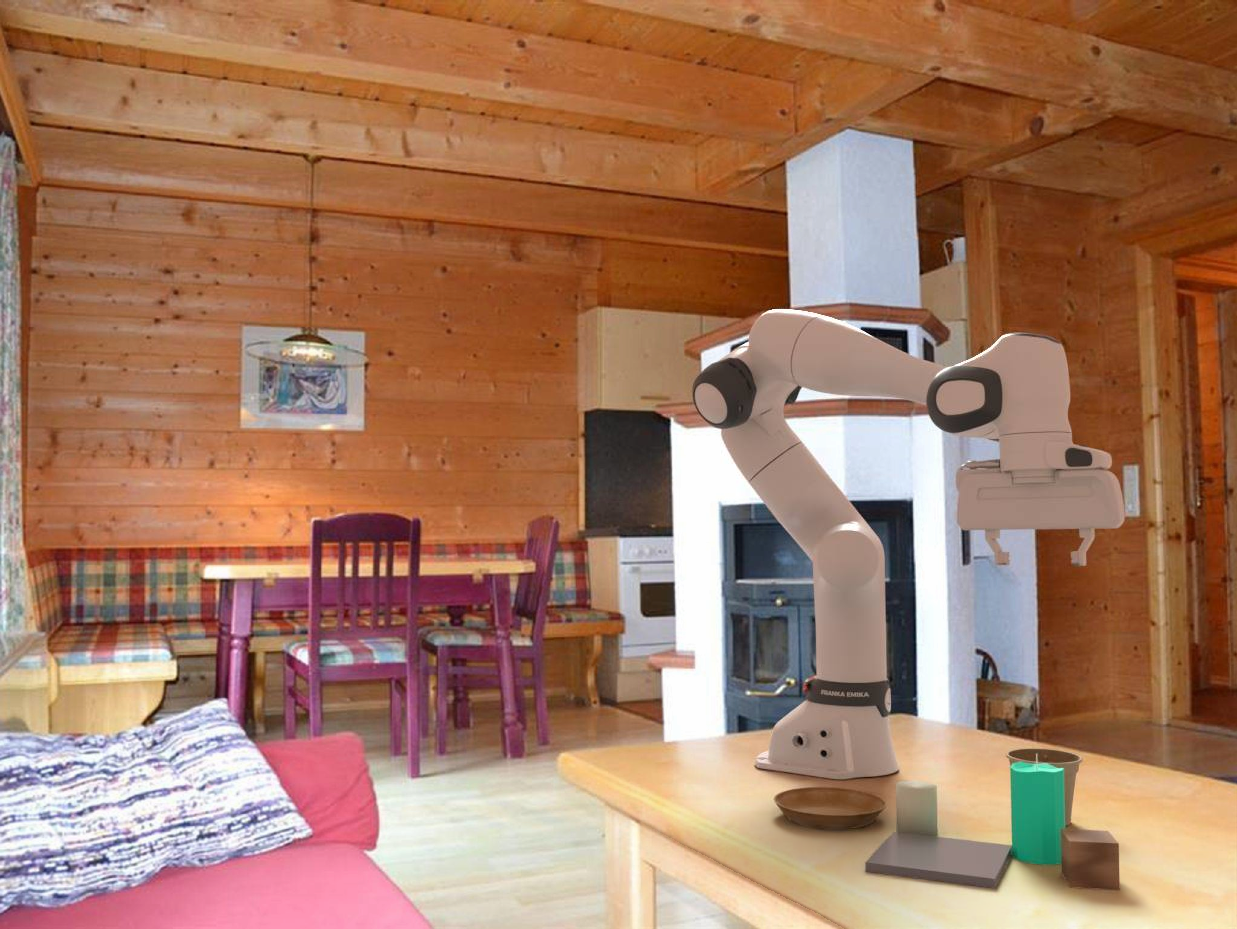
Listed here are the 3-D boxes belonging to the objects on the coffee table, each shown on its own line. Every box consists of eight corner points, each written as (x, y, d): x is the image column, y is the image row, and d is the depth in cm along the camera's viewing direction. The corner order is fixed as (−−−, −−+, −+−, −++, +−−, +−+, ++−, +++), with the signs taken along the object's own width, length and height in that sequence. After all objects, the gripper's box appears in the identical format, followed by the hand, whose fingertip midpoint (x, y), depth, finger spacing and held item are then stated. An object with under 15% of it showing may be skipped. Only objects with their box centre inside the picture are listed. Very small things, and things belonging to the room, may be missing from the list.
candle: (1070, 866, 130) (1068, 760, 131) (1015, 863, 131) (1013, 758, 132) (1061, 851, 136) (1059, 749, 137) (1008, 848, 137) (1006, 747, 138)
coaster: (865, 871, 129) (865, 862, 129) (893, 839, 141) (893, 831, 141) (994, 888, 122) (994, 878, 122) (1012, 853, 135) (1011, 845, 135)
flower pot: (1076, 835, 143) (1074, 765, 143) (999, 825, 148) (998, 757, 148) (1090, 818, 151) (1088, 752, 151) (1016, 809, 156) (1015, 745, 156)
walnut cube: (1070, 888, 123) (1069, 841, 123) (1061, 873, 128) (1060, 828, 128) (1119, 890, 122) (1118, 843, 122) (1109, 876, 127) (1108, 830, 127)
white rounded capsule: (892, 835, 143) (892, 787, 143) (901, 826, 148) (900, 779, 148) (933, 840, 141) (932, 791, 141) (941, 830, 145) (940, 783, 146)
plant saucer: (908, 819, 152) (907, 799, 152) (846, 842, 141) (845, 820, 142) (815, 800, 162) (815, 781, 162) (751, 820, 152) (751, 800, 152)
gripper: (947, 460, 150) (951, 566, 149) (1115, 452, 138) (1119, 566, 138) (962, 462, 155) (966, 564, 154) (1124, 454, 144) (1129, 564, 143)
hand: (1039, 565), depth 146 cm, fingers open, 8 cm apart
